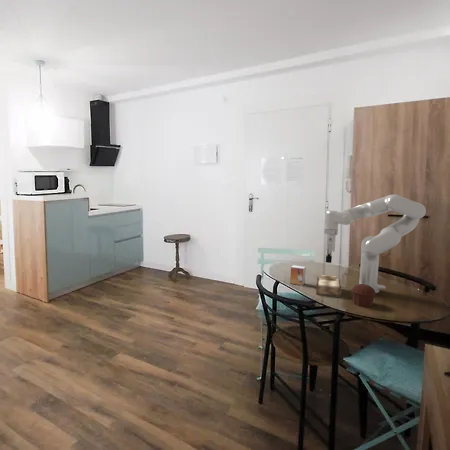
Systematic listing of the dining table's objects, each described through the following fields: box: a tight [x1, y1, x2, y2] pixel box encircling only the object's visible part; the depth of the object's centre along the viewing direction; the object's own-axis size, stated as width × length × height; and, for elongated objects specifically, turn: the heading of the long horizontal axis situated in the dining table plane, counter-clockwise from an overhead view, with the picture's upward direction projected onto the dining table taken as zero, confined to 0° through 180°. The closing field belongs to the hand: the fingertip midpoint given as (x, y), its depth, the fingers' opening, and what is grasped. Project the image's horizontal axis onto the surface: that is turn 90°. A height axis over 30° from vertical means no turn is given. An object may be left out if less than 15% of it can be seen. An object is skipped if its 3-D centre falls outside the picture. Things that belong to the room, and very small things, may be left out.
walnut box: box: [315, 275, 342, 298], centre depth 198 cm, size 13×16×6 cm
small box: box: [289, 264, 307, 286], centre depth 212 cm, size 8×6×10 cm
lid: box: [318, 274, 340, 288], centre depth 197 cm, size 11×14×3 cm
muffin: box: [351, 283, 377, 308], centre depth 179 cm, size 12×11×10 cm
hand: (328, 262), depth 206 cm, fingers closed
